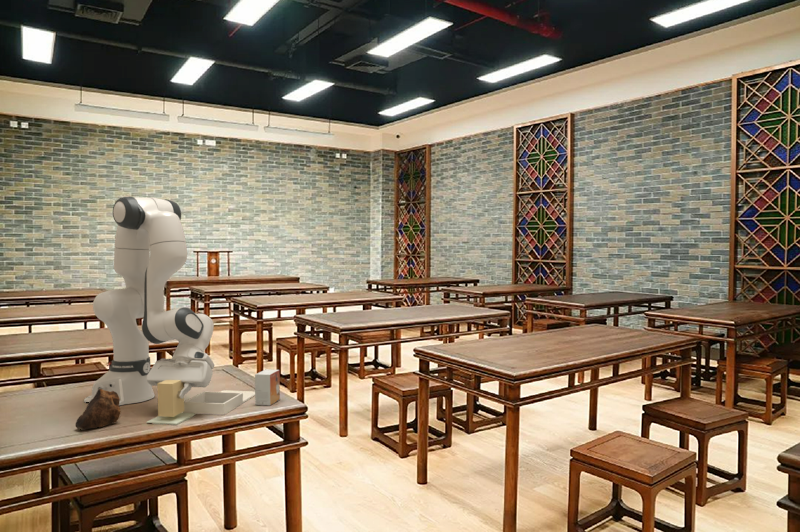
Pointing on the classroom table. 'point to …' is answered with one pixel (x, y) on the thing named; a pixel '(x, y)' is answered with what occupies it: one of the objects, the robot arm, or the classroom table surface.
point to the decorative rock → (100, 411)
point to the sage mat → (171, 419)
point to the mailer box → (216, 402)
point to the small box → (267, 387)
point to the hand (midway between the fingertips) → (169, 397)
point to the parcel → (170, 398)
